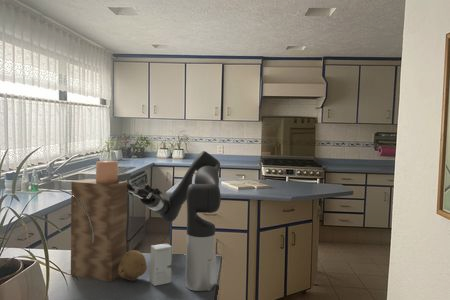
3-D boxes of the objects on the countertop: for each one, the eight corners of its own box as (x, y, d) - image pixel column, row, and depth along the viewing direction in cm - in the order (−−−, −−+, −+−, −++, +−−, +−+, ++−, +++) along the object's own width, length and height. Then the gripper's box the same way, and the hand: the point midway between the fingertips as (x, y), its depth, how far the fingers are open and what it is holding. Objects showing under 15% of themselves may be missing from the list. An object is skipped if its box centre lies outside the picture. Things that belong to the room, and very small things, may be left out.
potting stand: (125, 272, 123) (127, 181, 122) (111, 281, 115) (112, 184, 113) (87, 266, 128) (88, 178, 126) (70, 274, 120) (71, 181, 118)
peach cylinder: (135, 178, 130) (135, 159, 129) (109, 184, 114) (110, 163, 114) (118, 177, 132) (119, 158, 131) (91, 182, 116) (91, 161, 116)
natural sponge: (152, 278, 118) (153, 249, 118) (133, 288, 111) (134, 257, 110) (132, 272, 123) (133, 244, 122) (113, 281, 115) (113, 252, 115)
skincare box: (154, 286, 113) (155, 249, 112) (149, 281, 116) (149, 245, 116) (171, 282, 116) (172, 246, 115) (166, 277, 120) (167, 242, 119)
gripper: (140, 190, 155) (122, 175, 141) (170, 192, 151) (154, 178, 137) (135, 206, 151) (117, 193, 137) (165, 209, 147) (149, 196, 133)
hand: (136, 185), depth 137 cm, fingers open, 8 cm apart
